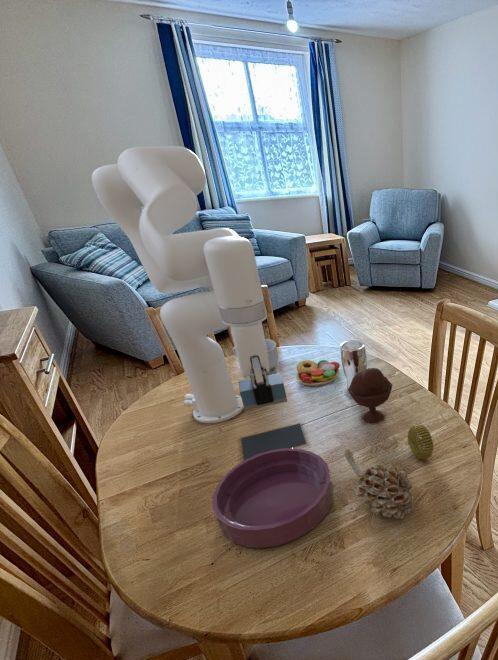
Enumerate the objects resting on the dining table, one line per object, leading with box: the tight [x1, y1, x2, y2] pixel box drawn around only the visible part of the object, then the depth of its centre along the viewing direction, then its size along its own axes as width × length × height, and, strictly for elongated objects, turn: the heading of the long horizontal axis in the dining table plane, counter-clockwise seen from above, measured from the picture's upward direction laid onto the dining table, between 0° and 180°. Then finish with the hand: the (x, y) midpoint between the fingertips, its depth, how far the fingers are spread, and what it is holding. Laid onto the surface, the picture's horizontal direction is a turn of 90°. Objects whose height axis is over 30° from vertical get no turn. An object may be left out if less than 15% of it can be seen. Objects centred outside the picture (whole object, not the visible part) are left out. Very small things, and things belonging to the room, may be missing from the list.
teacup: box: [232, 338, 279, 371], centre depth 129 cm, size 14×11×8 cm
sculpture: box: [407, 424, 434, 460], centre depth 93 cm, size 8×4×8 cm, turn 29°
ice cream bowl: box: [348, 367, 393, 424], centre depth 104 cm, size 11×11×15 cm
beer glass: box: [340, 339, 368, 398], centre depth 115 cm, size 7×7×15 cm
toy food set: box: [295, 359, 341, 387], centre depth 126 cm, size 13×13×3 cm
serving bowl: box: [211, 447, 334, 549], centre depth 81 cm, size 22×22×6 cm
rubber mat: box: [240, 423, 307, 461], centre depth 99 cm, size 14×9×1 cm, turn 116°
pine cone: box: [344, 447, 415, 519], centre depth 82 cm, size 22×10×10 cm, turn 46°
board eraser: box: [238, 372, 288, 412], centre depth 82 cm, size 8×4×4 cm, turn 115°
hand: (263, 395), depth 82 cm, fingers closed on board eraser, 4 cm apart
